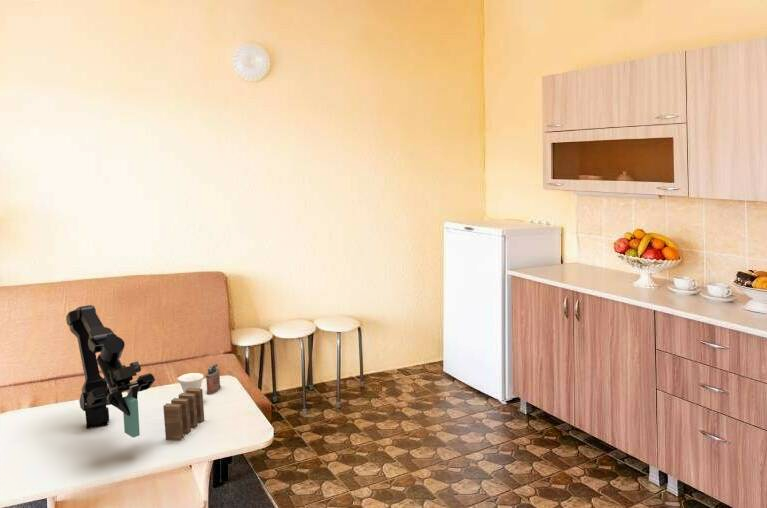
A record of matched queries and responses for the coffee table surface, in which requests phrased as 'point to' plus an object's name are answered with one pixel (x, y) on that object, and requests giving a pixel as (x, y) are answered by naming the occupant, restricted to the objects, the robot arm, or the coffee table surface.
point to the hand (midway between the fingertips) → (133, 413)
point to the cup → (190, 381)
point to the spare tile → (131, 417)
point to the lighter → (213, 379)
